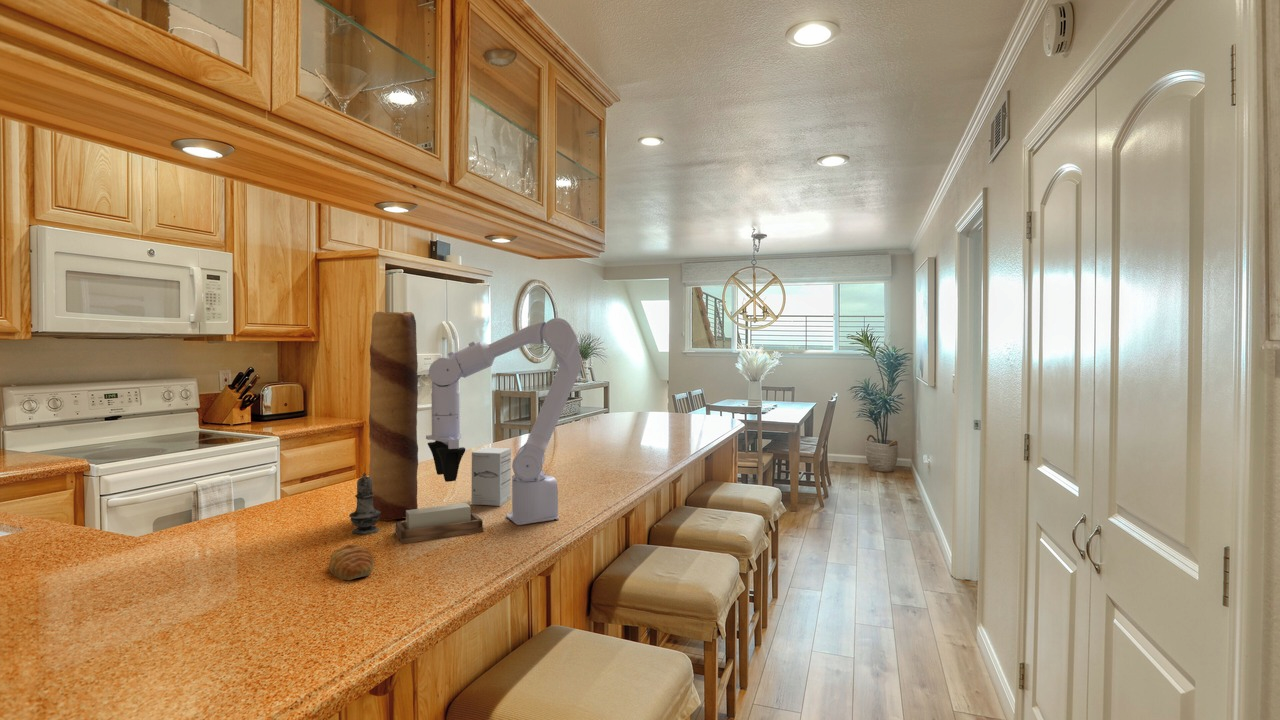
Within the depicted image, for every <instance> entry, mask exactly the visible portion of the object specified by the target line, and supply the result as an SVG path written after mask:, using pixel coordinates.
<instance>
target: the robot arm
mask: <svg viewBox="0 0 1280 720" xmlns="http://www.w3.org/2000/svg"><path fill="white" fill-rule="evenodd" d="M544 342H545V344H546V345H547V346H548V347H549V348H550V349H551V350H552V351H553V353H554V356H555V359H556V360H557V363H558V366H559V367H558V368H557V369H558V370H557V372H556V374H555V375H554V378H553V381H552V383H551V385H550V387H549V389H548V392H547V394H546V397H545V398H544V401H543V403H542V405H541V407H540V411H539V412H538V414H537V417H536V419H535V422H534V424H533V426H532V428H531V431H530V433H529V435H528V437H527V439H526V442H525V443H524V445H522V446H521V447H520V448H518V451H517V452H516V455H515V456H514V458H513V460H512V462H511V469H512V470H513V473H514V474H513V475H511V491H512V492H511V494H512V495H511V501H512V503H511V505H512V506H511V507H512V508H511V509H512V510H511V511H512V512H511V513H507V514H506V515H505V516H506V518H508V519H509V520H511V521H512V523H514V524H515V525H517V526H522V525H523V526H524V525H529V524H535V523H536V524H537V523H541V522H547V521H555V520H554V519H556V520H559V519H560V516H559V489H558V484H557V479H556V478H555V477H554V476H553V475H547V474H546V473H545V472H544V471H543V466H544V463H545V453H546V450H547V447H548V446H549V442H550V440H551V438H552V435H553V433H554V430H555V429H556V426H557V423H558V422H559V419H560V417H561V415H562V412H563V411H564V408H565V406H566V403H567V401H568V399H569V396H570V395H571V392H572V391H573V390H572V389H573V388H574V385H575V383H576V381H577V378H578V376H579V373H580V372H581V369H582V366H583V362H582V356H581V352H580V346H579V342H578V338H577V334H576V333H575V331H574V329H573V327H572V326H571V324H570V323H569V322H568V320H566V319H564V318H561V317H554V318H551V319H549V320H548V321H547V322H546V321H541V322H537V323H534V324H531V325H528V326H525V327H523V328H520V329H519V330H517V331H515V332H513V333H511V334H508V335H506V336H504V337H501V338H500V339H497V340H496V341H494V342H491V343H489V344H488V343H486V342H483V341H478V342H476V341H472V342H469V343H468V346H467V347H465V348H462V349H459V350H458V351H455V352H454V351H450V352H448V353H447V355H448V357H438V358H437V359H436V360H435V361H433V362H432V363H431V364H430V366H429V368H428V376H429V379H430V380H431V396H430V397H431V434H428V435H427V434H426V435H425V439H426V440H427V441H428V440H432V441H430V442H427V445H428V448H429V449H430V451H431V455H432V457H433V462H434V467H435V471H436V474H437V476H441V475H443V478H444V482H446V483H447V482H448V483H449V482H456V480H457V477H458V473H459V468H460V463H461V461H462V458H463V457H464V454H465V452H466V447H465V446H464V447H463V446H462V447H460V439H461V437H462V436H461V435H462V434H461V425H460V424H461V423H460V422H461V421H460V420H461V416H460V413H461V411H460V409H461V407H460V406H461V405H460V404H461V403H460V391H459V390H460V388H459V386H460V385H459V380H460V379H461V378H467V377H469V376H472V375H474V374H476V373H478V372H481V371H483V370H486V369H488V368H490V367H492V366H493V363H494V361H495V359H496V358H498V357H500V356H502V355H505V354H507V353H509V352H512V351H514V350H517V349H519V348H521V347H524V346H526V345H529V344H530V345H531V344H532V345H533V344H535V345H543V344H544Z"/></svg>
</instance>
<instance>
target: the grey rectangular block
mask: <svg viewBox="0 0 1280 720" xmlns="http://www.w3.org/2000/svg"><path fill="white" fill-rule="evenodd" d="M471 512H472V510H471V506H470V505H469V504H468V503H467V502H462V503H453V504H446V505H438V506H430V507H424V508H423V507H422V508H418V509H413V510H406V518H405V521H406V530H408V529H415V528H422V527H429V526H437V525H444V524H451V523H458V522H465V521H471Z"/></svg>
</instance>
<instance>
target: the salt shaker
mask: <svg viewBox="0 0 1280 720" xmlns="http://www.w3.org/2000/svg"><path fill="white" fill-rule="evenodd" d="M362 475H363V476H361V477H359V478H358V479H357V480H356V481H357V482H356V494H355V495H354V497H355V498H356V507H355V511H354V512H351V513H349V515H348V517H349V518H350V521H351V523H352V525H353V526H355V527H354V528H353V529H352V530H351V531H350V534H351V535H352V536H353V535H354V536H368V535H373V534H376V533H377V531H378V532H379V531H380V528H379V527H378V526H375V525H376V523H377V522H378V521H379V520H378V518H379V514H380V513H381V512H380V511H378V510H375V509H374V507H373V496H374V493H372V479H371V478H369V476H366V475H367V473H366V472H363V474H362ZM375 532H376V533H375ZM372 533H373V534H372ZM367 534H368V535H367Z"/></svg>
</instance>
